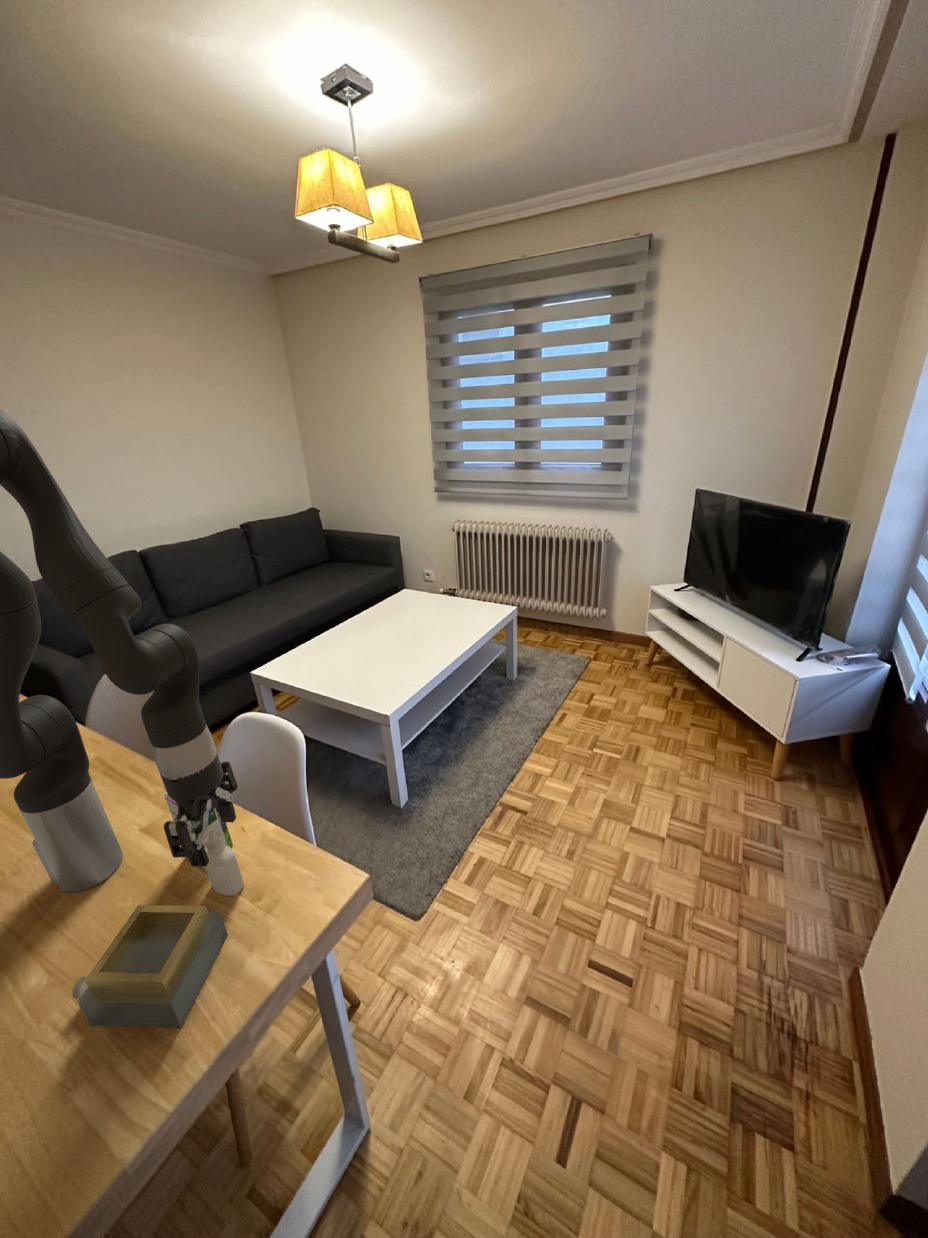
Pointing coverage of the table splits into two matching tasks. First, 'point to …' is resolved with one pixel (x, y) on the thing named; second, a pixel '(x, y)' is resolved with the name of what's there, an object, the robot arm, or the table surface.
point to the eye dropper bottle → (222, 866)
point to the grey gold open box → (153, 968)
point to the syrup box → (213, 824)
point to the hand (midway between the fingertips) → (216, 841)
